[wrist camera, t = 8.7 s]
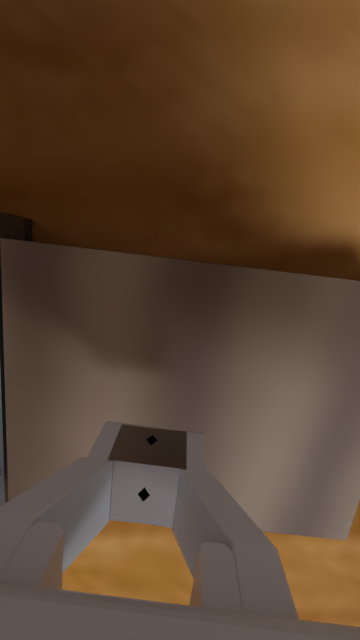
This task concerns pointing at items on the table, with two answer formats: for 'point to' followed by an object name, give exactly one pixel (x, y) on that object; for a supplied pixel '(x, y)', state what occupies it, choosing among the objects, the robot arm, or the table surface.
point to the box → (15, 230)
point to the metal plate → (188, 373)
